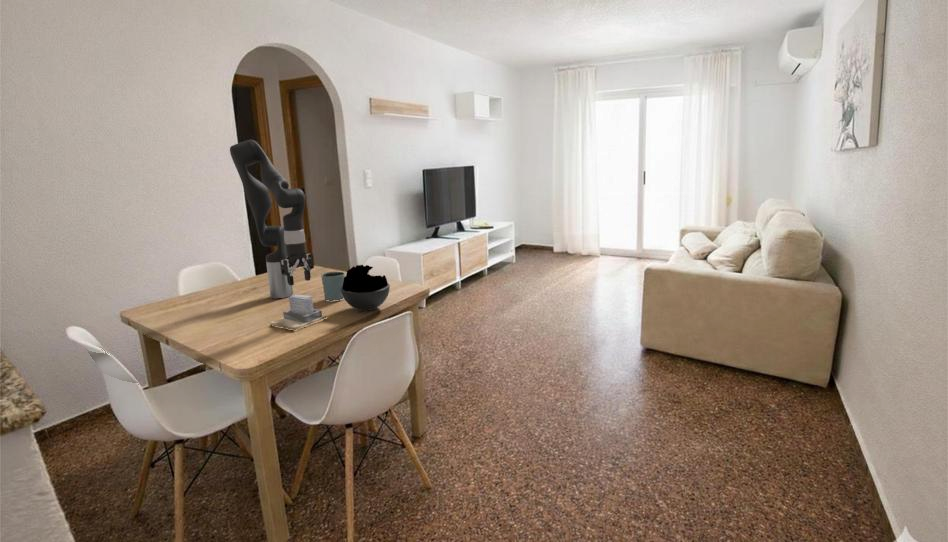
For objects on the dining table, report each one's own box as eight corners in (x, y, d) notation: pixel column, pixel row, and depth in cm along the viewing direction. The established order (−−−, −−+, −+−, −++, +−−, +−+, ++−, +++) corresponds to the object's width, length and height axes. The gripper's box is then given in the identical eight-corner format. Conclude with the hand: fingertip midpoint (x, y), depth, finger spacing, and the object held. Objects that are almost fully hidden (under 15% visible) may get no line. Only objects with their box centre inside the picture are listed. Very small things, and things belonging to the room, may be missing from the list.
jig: (303, 314, 205) (302, 305, 204) (327, 319, 198) (326, 309, 197) (270, 325, 192) (269, 316, 191) (295, 331, 185) (294, 321, 184)
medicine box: (314, 316, 197) (312, 295, 195) (306, 320, 193) (304, 298, 191) (298, 314, 200) (296, 294, 198) (291, 318, 196) (288, 297, 194)
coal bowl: (368, 299, 223) (365, 259, 219) (400, 306, 212) (398, 264, 208) (332, 311, 207) (328, 268, 203) (365, 320, 196) (362, 274, 192)
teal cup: (319, 301, 223) (316, 275, 220) (333, 295, 232) (330, 270, 229) (337, 303, 219) (335, 277, 216) (351, 297, 228) (349, 272, 225)
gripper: (303, 237, 197) (307, 277, 201) (272, 243, 185) (277, 286, 189) (316, 239, 193) (320, 279, 197) (286, 245, 181) (291, 288, 185)
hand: (299, 282), depth 193 cm, fingers open, 7 cm apart
